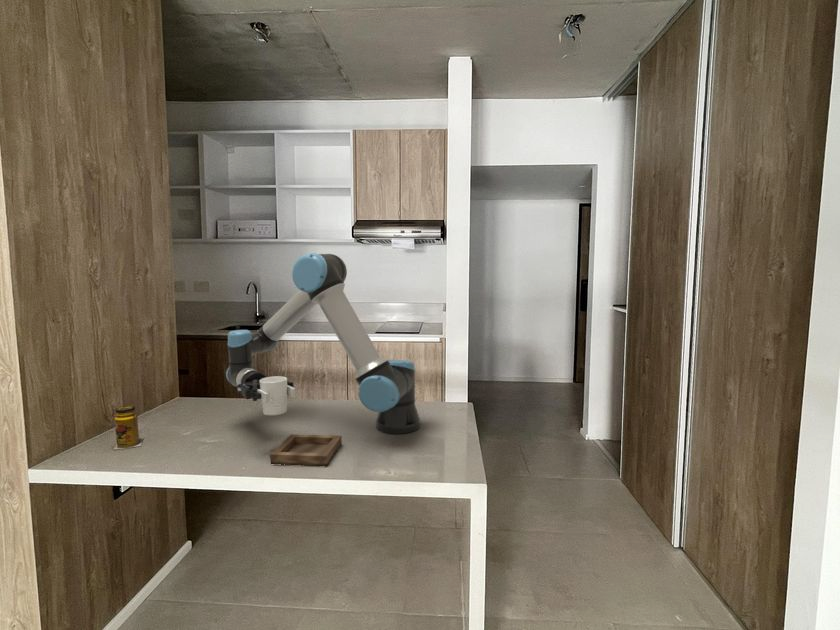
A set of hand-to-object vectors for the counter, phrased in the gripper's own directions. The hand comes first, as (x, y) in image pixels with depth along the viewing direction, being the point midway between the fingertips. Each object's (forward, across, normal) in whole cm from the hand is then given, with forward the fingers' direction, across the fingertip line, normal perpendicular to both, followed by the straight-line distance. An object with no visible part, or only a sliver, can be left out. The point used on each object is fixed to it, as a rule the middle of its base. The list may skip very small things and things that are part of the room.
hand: (281, 395), depth 142 cm
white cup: (-5, 0, -6) cm, 8 cm away
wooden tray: (+4, -6, -18) cm, 19 cm away
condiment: (-40, +33, -18) cm, 55 cm away
